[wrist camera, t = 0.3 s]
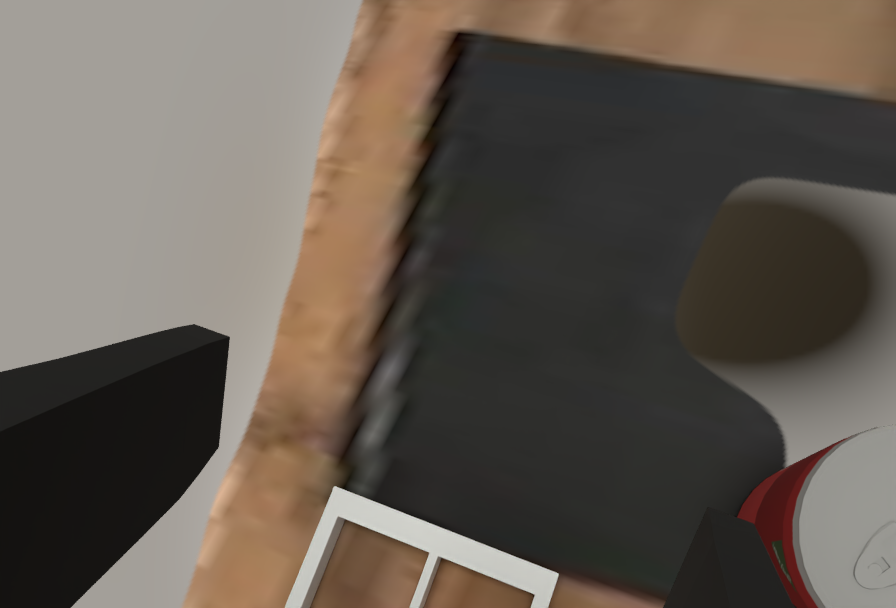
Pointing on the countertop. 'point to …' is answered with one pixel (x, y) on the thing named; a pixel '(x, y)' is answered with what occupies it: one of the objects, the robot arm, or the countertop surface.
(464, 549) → the socket board
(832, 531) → the canned food
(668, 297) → the countertop surface
